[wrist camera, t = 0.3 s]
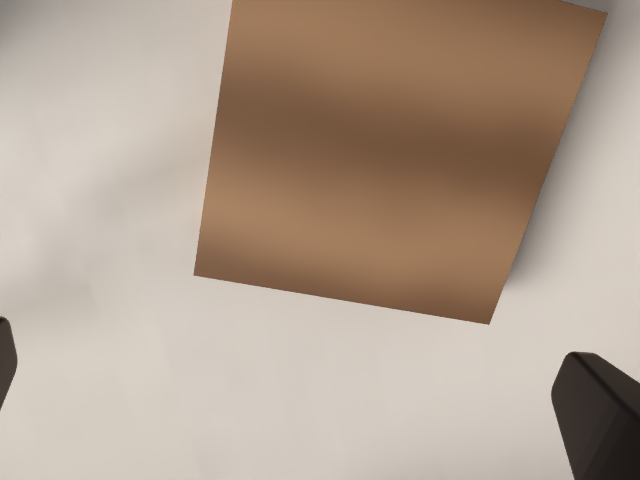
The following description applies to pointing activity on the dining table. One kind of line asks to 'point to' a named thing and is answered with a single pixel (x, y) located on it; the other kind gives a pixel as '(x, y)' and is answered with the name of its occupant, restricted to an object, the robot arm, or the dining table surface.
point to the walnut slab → (387, 145)
